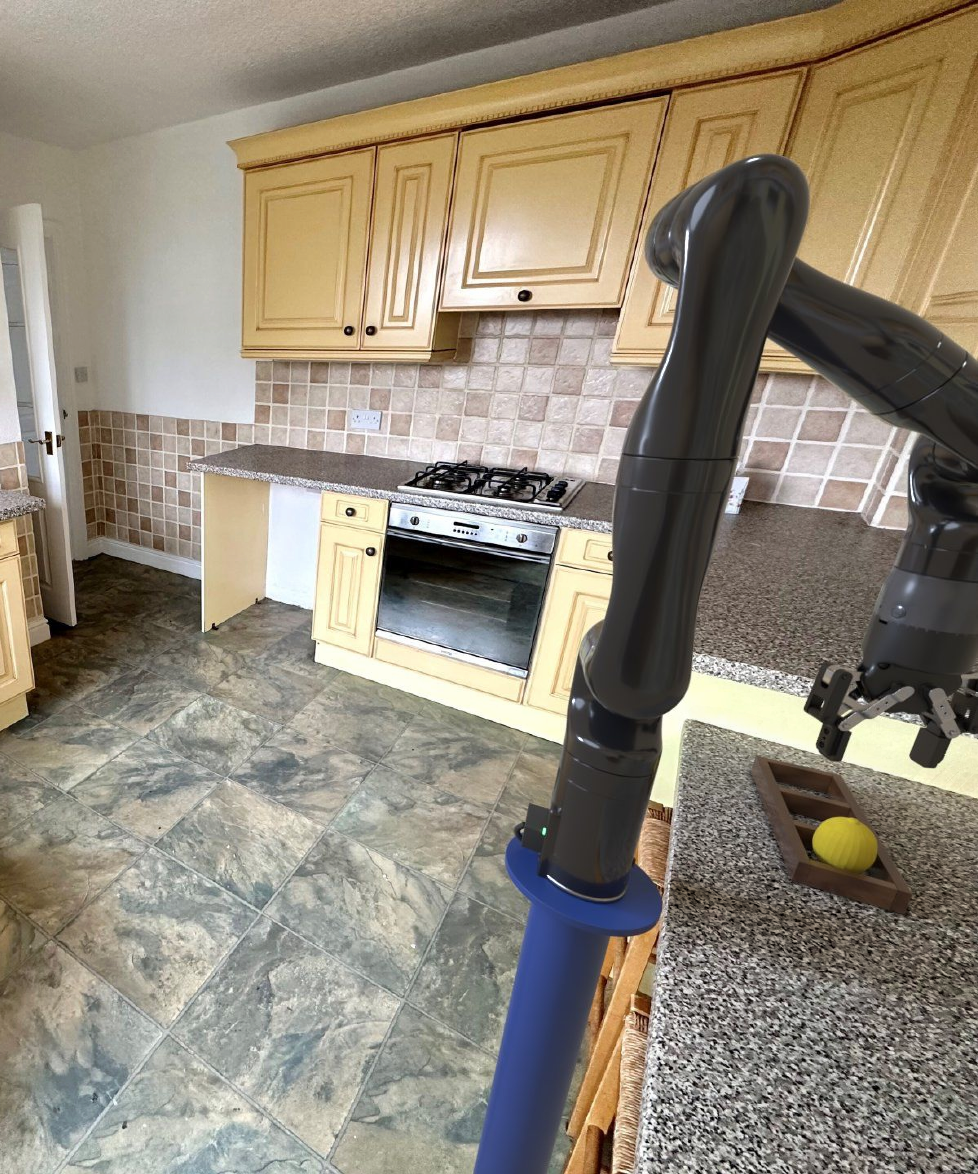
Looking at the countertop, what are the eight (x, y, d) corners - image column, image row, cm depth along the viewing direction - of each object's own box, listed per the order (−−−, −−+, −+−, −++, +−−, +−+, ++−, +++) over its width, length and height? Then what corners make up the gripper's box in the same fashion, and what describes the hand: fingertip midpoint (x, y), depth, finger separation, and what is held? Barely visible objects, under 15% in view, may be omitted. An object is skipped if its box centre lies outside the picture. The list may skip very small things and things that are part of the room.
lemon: (872, 894, 76) (895, 840, 74) (811, 877, 79) (832, 824, 76) (855, 865, 81) (876, 813, 78) (798, 850, 83) (817, 799, 81)
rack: (791, 881, 78) (798, 861, 77) (750, 771, 100) (755, 755, 99) (903, 915, 73) (913, 894, 72) (834, 791, 95) (841, 774, 94)
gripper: (975, 607, 64) (919, 747, 69) (816, 600, 66) (773, 736, 71) (1060, 635, 57) (990, 788, 62) (879, 626, 59) (825, 775, 64)
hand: (874, 760), depth 66 cm, fingers open, 8 cm apart
